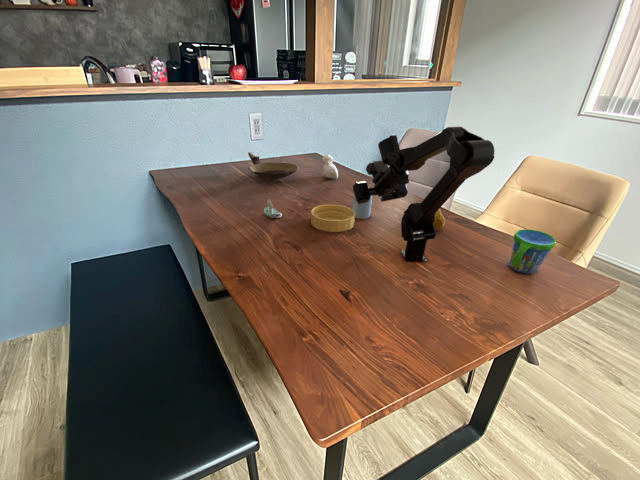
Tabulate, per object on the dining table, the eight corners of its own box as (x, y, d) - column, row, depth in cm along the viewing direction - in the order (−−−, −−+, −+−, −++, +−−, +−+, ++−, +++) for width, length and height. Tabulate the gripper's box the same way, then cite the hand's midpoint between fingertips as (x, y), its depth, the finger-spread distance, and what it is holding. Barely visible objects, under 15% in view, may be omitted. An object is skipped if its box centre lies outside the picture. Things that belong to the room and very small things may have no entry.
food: (444, 233, 126) (448, 216, 122) (427, 232, 126) (431, 215, 123) (435, 211, 143) (438, 196, 139) (420, 210, 143) (423, 195, 139)
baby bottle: (367, 221, 132) (371, 186, 125) (349, 218, 134) (352, 183, 126) (371, 215, 137) (376, 181, 130) (355, 212, 139) (358, 178, 131)
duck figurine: (324, 178, 179) (312, 159, 171) (336, 167, 178) (324, 148, 170) (333, 185, 170) (320, 166, 163) (346, 174, 169) (333, 155, 161)
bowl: (356, 233, 123) (357, 221, 120) (311, 233, 122) (312, 220, 119) (351, 216, 135) (352, 204, 132) (310, 216, 134) (310, 204, 131)
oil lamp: (258, 187, 158) (256, 169, 153) (241, 169, 179) (239, 152, 174) (305, 183, 165) (306, 165, 161) (283, 165, 187) (283, 149, 182)
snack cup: (524, 284, 101) (539, 250, 94) (491, 268, 107) (502, 235, 101) (553, 269, 108) (568, 237, 102) (520, 255, 115) (533, 224, 109)
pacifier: (277, 212, 137) (262, 213, 134) (277, 195, 133) (262, 196, 131) (284, 219, 131) (269, 220, 129) (285, 202, 128) (268, 203, 125)
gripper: (409, 152, 117) (386, 178, 131) (358, 156, 111) (340, 182, 125) (419, 184, 116) (394, 207, 130) (367, 190, 110) (348, 213, 124)
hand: (369, 201), depth 128 cm, fingers open, 9 cm apart
